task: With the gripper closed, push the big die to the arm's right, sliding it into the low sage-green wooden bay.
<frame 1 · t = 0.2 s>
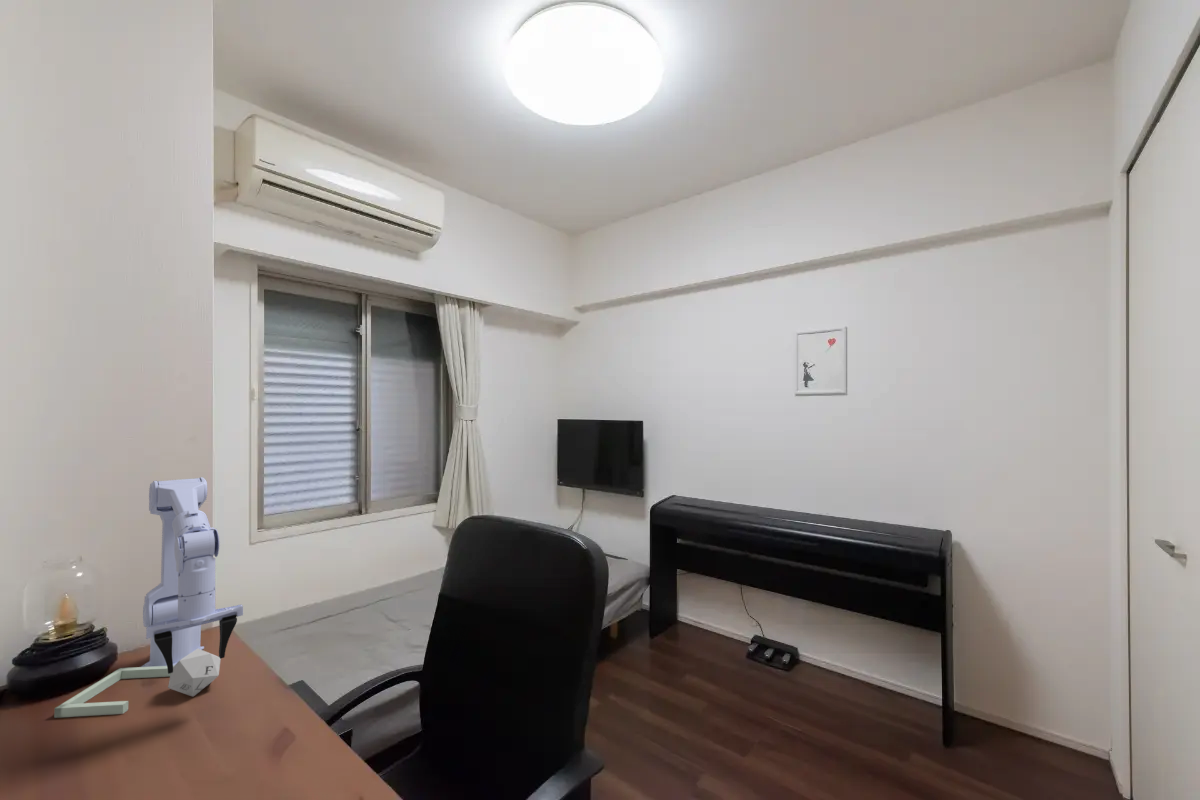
hand: (196, 664, 92), 10 cm above the table, tool pointing down, fingers open, 7 cm apart
die: (194, 690, 101), on the table
bay: (127, 693, 100), on the table
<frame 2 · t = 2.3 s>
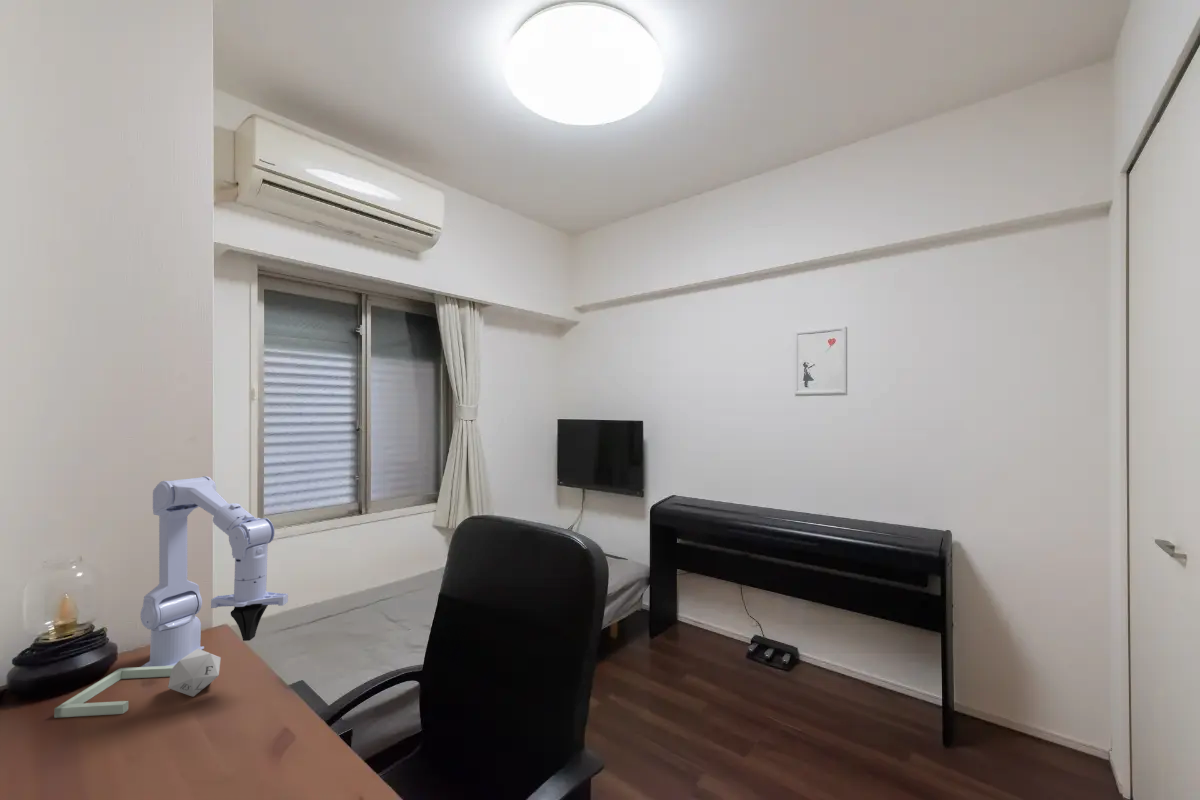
hand: (249, 638, 103), 10 cm above the table, tool pointing down, fingers closed
nothing on the table moved.
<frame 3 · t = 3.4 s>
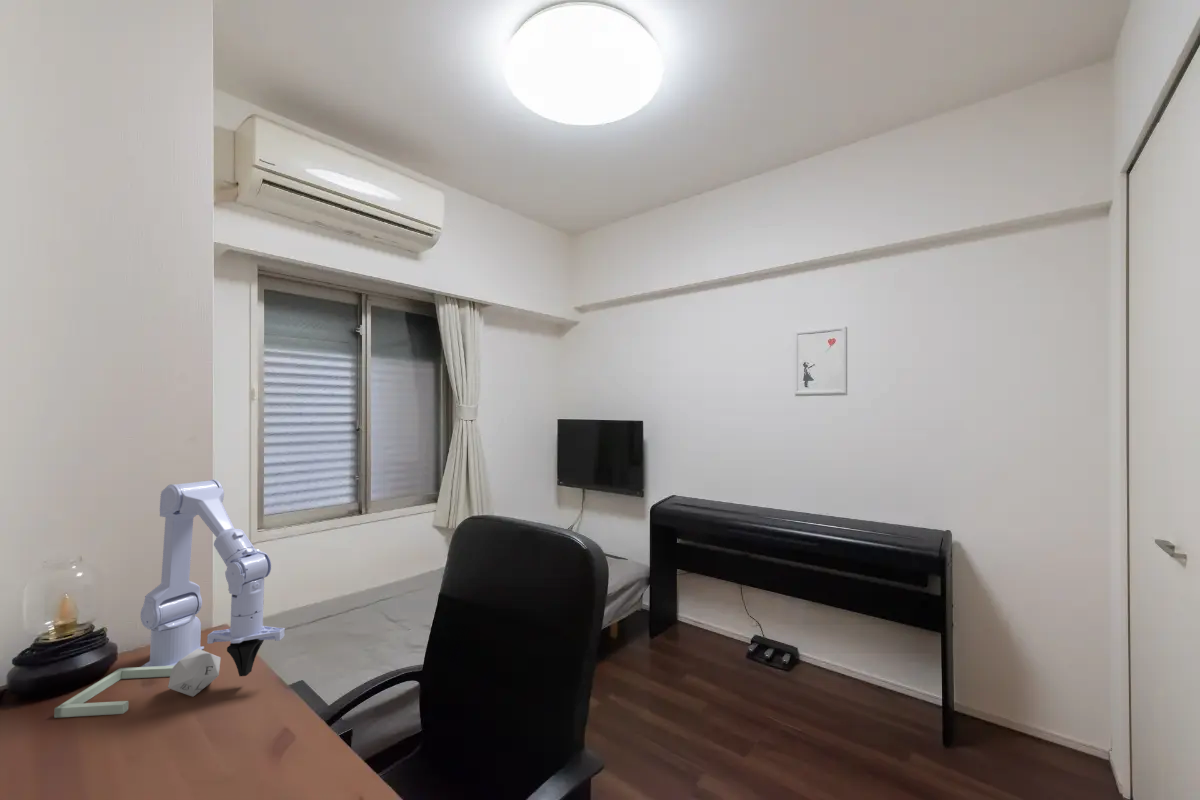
hand: (245, 673, 103), 3 cm above the table, tool pointing down, fingers closed
nothing on the table moved.
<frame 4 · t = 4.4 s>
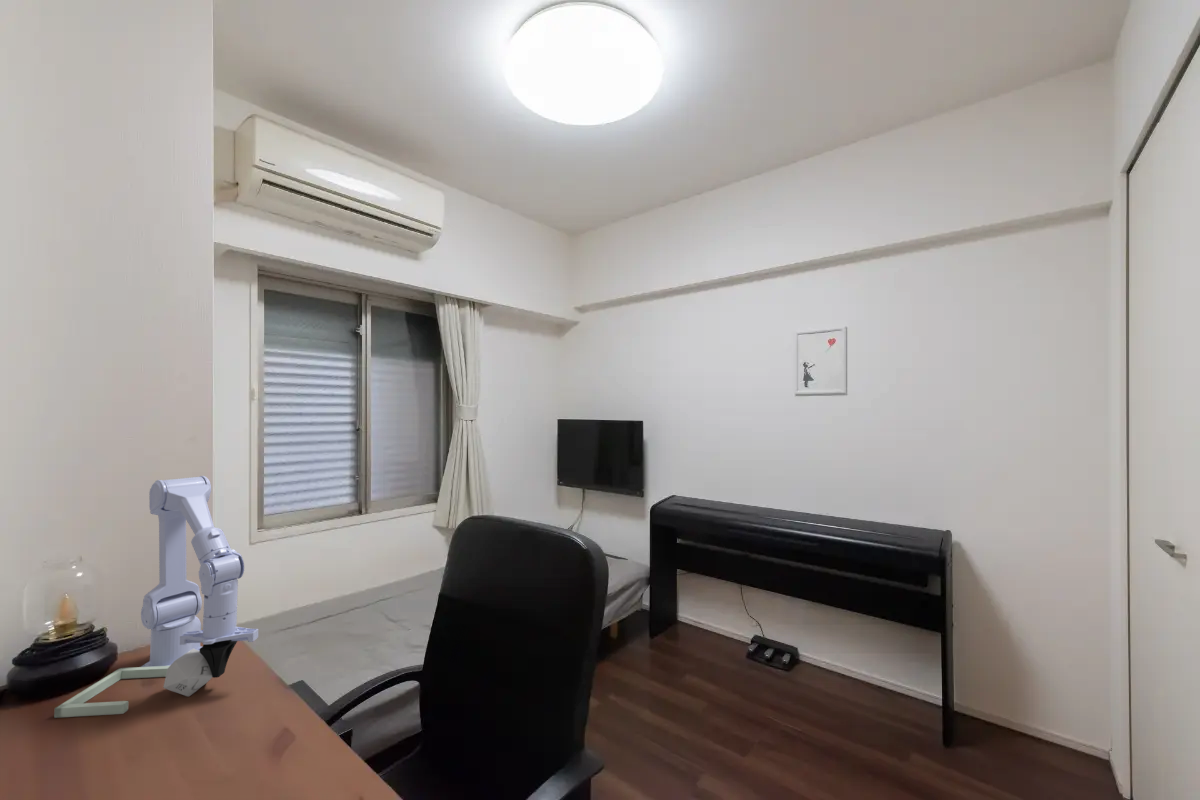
hand: (218, 675, 102), 3 cm above the table, tool pointing down, fingers closed
die: (190, 690, 101), on the table, touching gripper
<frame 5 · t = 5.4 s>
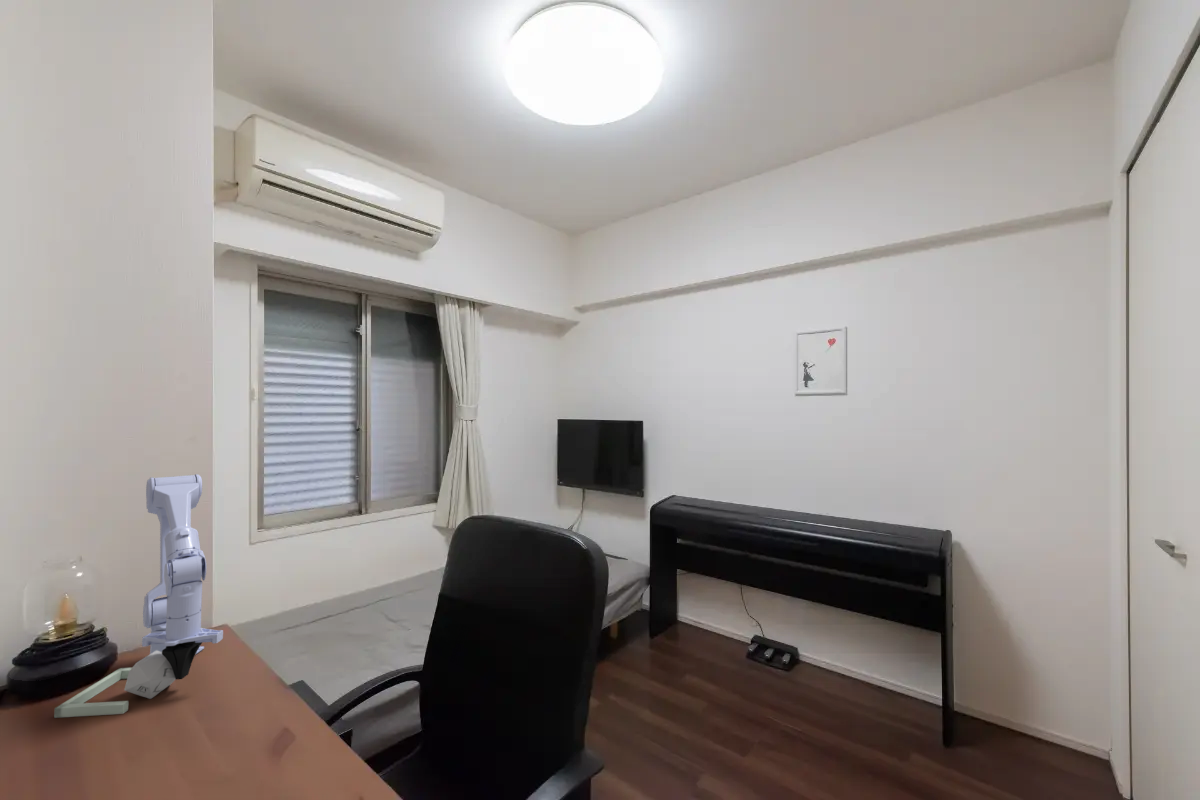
hand: (182, 676, 101), 3 cm above the table, tool pointing down, fingers closed
die: (152, 693, 100), on the table, touching gripper
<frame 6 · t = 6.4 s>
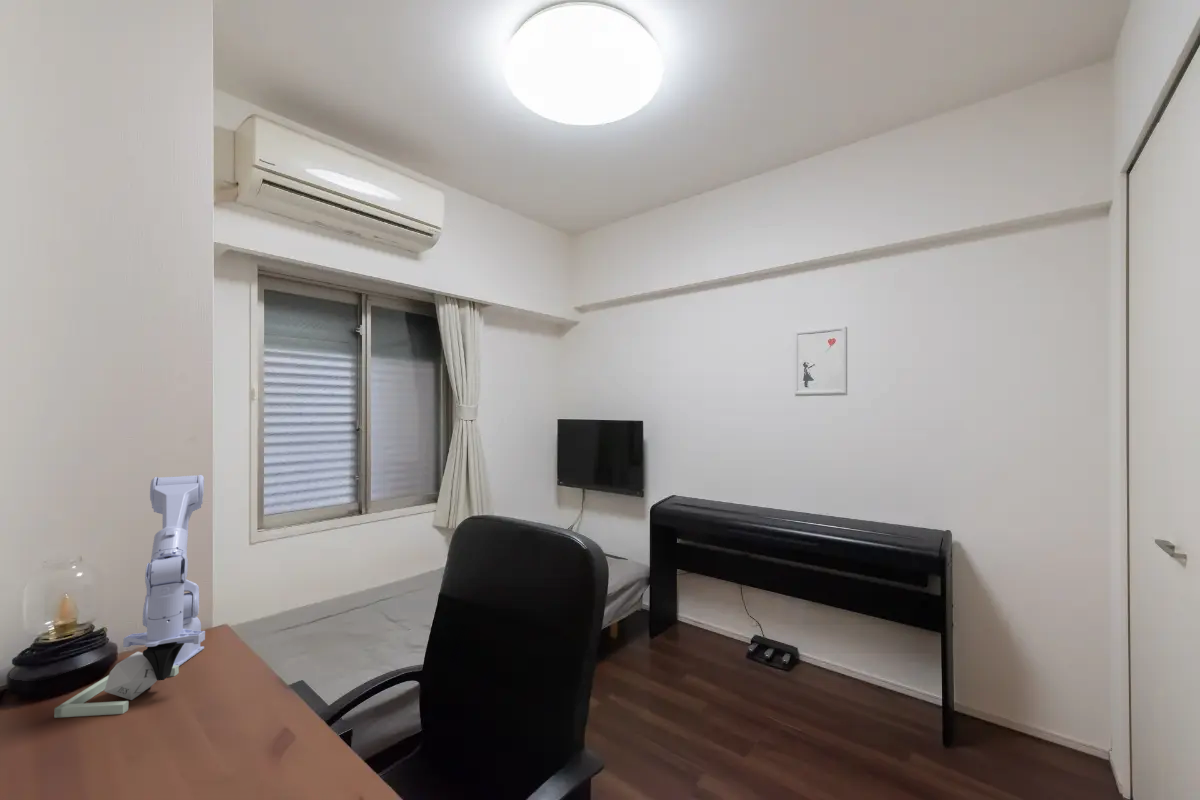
hand: (163, 677, 101), 3 cm above the table, tool pointing down, fingers closed
die: (134, 694, 100), on the table, touching gripper
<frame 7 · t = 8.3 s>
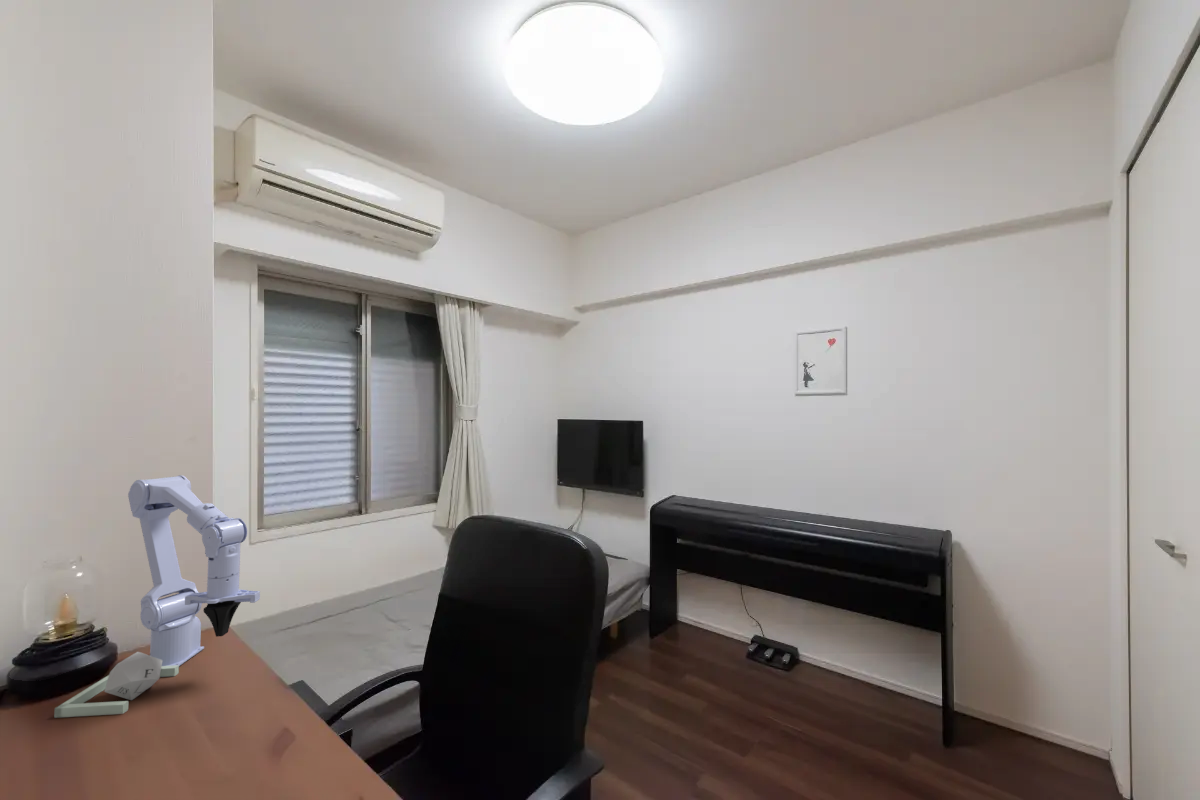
hand: (221, 634, 107), 9 cm above the table, tool pointing down, fingers closed
die: (134, 694, 100), on the table
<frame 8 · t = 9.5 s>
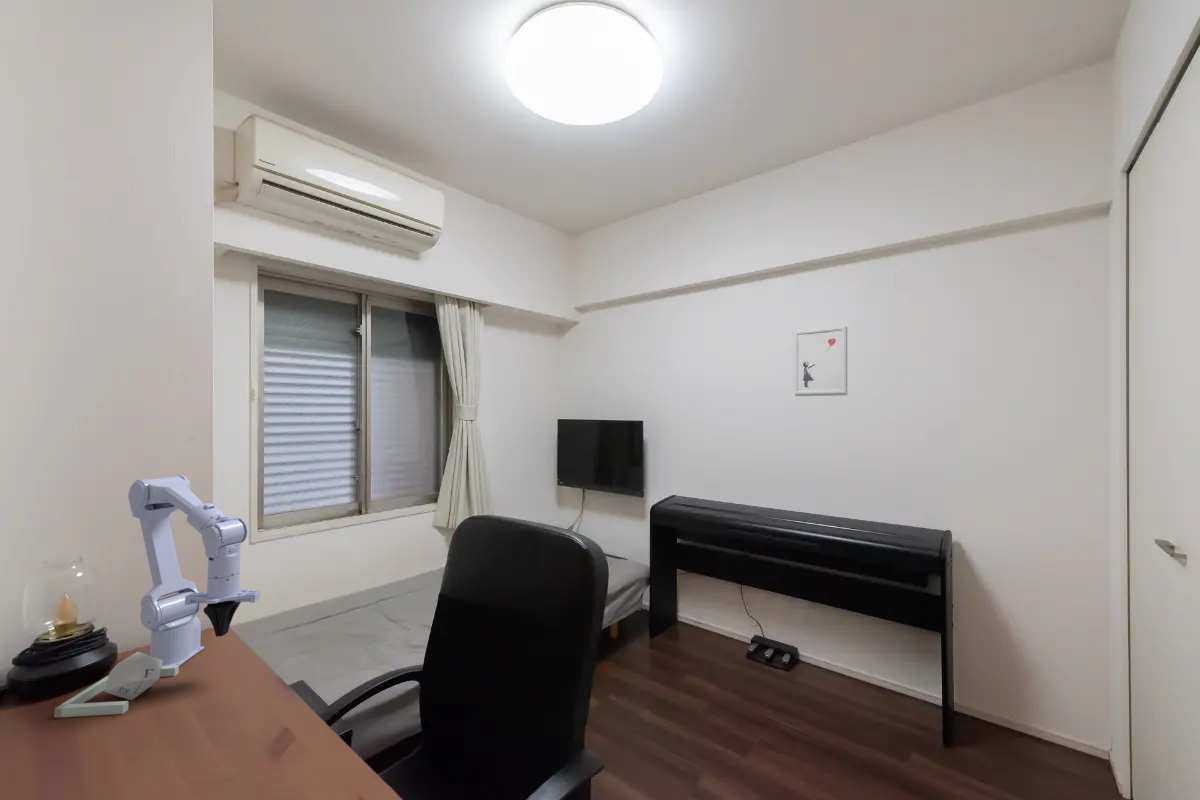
hand: (221, 634, 107), 9 cm above the table, tool pointing down, fingers closed
nothing on the table moved.
at the end: die 2.1 cm off-centre on the bay, point 0.0 cm above the bay's base; die tilted 1°; die moved 11.7 cm from its start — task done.
